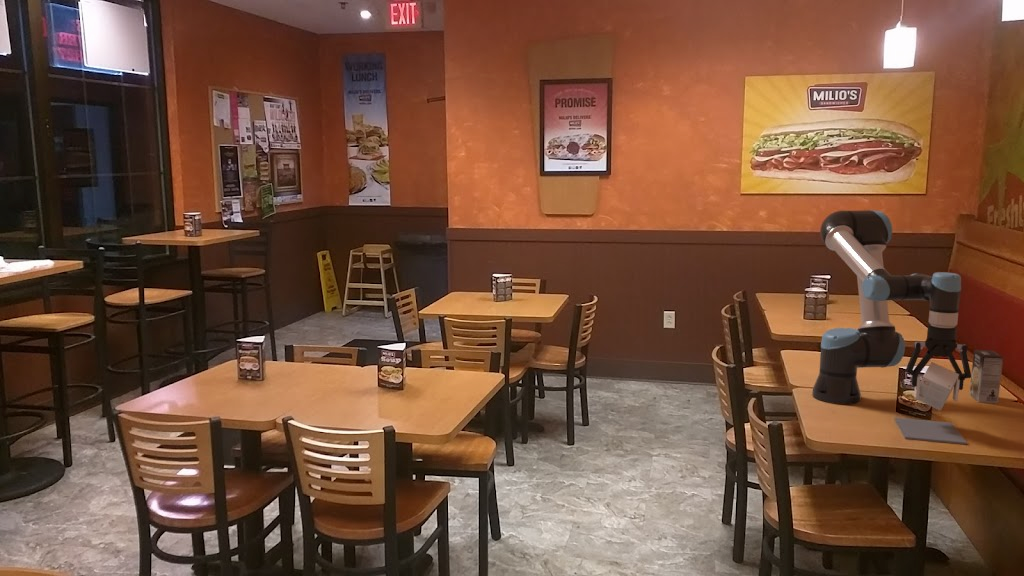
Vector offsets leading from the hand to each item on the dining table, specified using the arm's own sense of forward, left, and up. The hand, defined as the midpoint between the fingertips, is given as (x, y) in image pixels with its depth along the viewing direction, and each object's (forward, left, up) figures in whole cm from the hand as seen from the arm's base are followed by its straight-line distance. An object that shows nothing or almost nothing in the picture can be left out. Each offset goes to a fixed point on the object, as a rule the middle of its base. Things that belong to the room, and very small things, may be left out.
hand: (935, 398), depth 236 cm
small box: (0, +5, -1) cm, 6 cm away
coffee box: (+23, +38, -10) cm, 46 cm away
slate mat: (-2, -3, -9) cm, 10 cm away
